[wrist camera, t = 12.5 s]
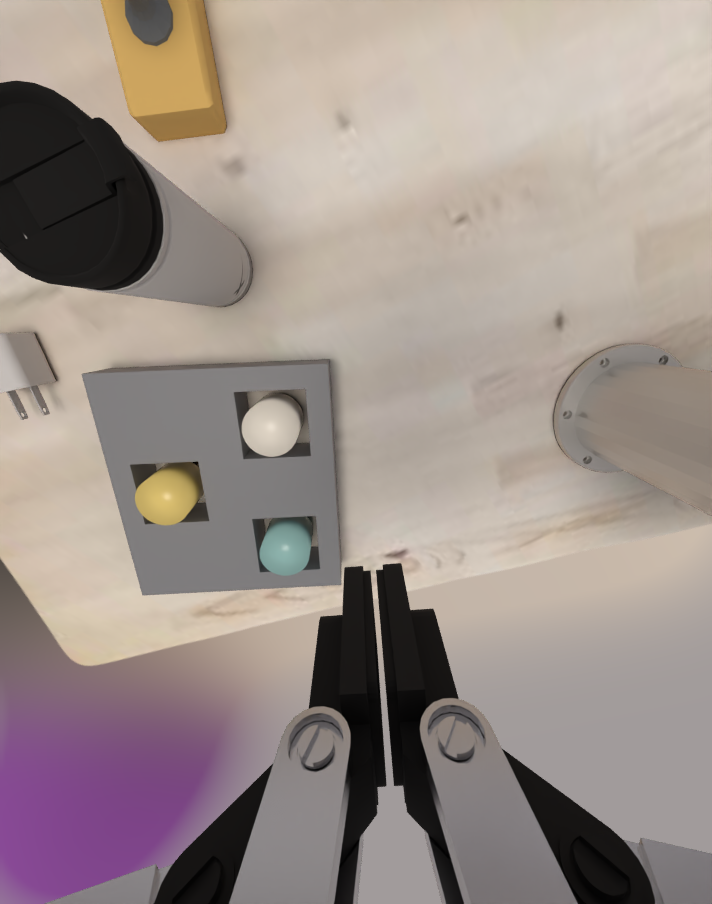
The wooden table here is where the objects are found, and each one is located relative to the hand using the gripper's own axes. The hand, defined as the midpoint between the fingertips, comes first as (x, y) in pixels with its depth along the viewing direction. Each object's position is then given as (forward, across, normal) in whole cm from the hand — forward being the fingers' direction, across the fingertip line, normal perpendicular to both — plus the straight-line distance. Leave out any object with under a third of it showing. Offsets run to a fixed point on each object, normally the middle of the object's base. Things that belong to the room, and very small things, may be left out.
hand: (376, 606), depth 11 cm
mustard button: (+24, +18, +5) cm, 31 cm away
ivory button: (+25, +8, 0) cm, 26 cm away
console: (+26, +13, +6) cm, 30 cm away
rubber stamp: (+26, +12, -28) cm, 40 cm away
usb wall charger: (+26, +30, -6) cm, 40 cm away
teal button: (+25, +8, +12) cm, 28 cm away
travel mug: (+26, +11, -13) cm, 32 cm away
